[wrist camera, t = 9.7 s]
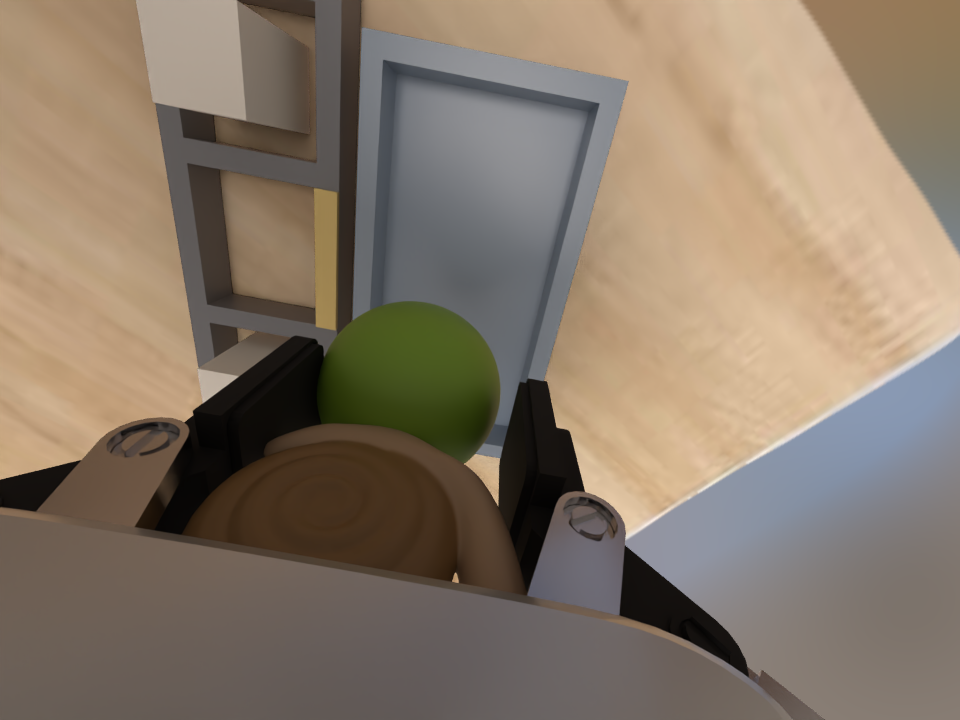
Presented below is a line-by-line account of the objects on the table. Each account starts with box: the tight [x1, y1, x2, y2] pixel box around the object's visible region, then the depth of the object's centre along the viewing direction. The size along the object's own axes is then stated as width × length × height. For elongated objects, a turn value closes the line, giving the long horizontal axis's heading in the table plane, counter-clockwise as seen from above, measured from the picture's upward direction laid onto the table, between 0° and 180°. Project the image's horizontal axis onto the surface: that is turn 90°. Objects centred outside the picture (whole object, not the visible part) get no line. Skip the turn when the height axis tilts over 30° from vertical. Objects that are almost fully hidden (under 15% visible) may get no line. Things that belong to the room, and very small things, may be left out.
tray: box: [352, 27, 629, 458], centre depth 23 cm, size 22×12×4 cm, turn 170°
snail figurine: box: [182, 301, 527, 595], centre depth 9 cm, size 5×6×12 cm
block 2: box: [197, 331, 291, 403], centre depth 26 cm, size 4×4×6 cm
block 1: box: [136, 0, 310, 134], centre depth 18 cm, size 4×4×6 cm
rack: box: [155, 0, 361, 367], centre depth 23 cm, size 26×9×3 cm, turn 170°
